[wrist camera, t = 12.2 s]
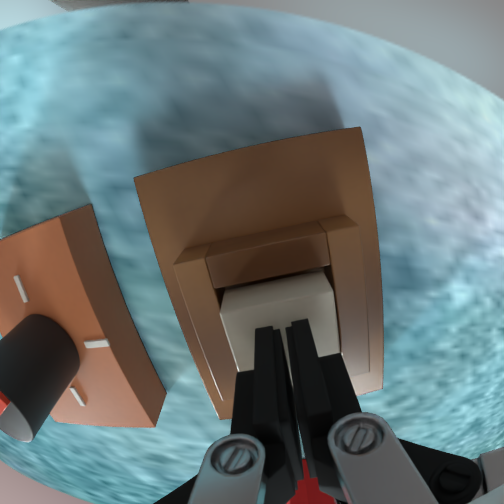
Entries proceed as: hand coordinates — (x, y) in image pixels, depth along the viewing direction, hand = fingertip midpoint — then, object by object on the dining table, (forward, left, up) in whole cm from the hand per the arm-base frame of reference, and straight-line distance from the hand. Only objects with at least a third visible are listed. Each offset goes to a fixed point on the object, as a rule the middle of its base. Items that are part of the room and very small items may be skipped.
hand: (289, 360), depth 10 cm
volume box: (0, -12, -6) cm, 13 cm away
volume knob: (0, -12, -3) cm, 12 cm away
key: (0, 0, -2) cm, 2 cm away
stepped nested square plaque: (0, 0, -6) cm, 6 cm away
